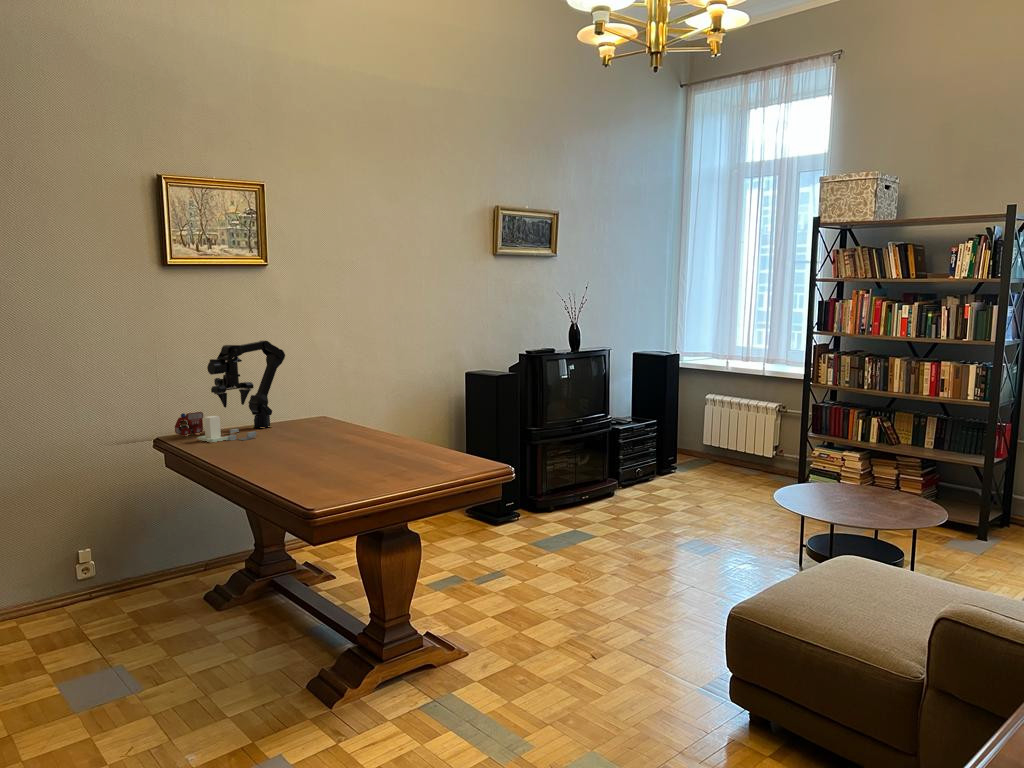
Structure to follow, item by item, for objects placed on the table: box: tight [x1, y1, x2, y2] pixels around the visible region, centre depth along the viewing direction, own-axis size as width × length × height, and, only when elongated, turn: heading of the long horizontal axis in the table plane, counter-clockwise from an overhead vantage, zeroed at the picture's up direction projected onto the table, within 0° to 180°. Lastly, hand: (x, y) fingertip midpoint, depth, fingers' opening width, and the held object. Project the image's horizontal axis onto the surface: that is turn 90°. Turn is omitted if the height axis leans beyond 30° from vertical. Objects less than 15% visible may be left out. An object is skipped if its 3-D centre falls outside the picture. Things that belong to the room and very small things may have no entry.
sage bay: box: [196, 435, 230, 444], centre depth 328 cm, size 9×11×2 cm
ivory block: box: [203, 415, 222, 439], centre depth 327 cm, size 5×5×10 cm
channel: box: [227, 428, 257, 442], centre depth 335 cm, size 13×25×2 cm, turn 52°
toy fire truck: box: [174, 411, 204, 436], centre depth 342 cm, size 7×12×10 cm, turn 129°
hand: (234, 406), depth 345 cm, fingers open, 9 cm apart
